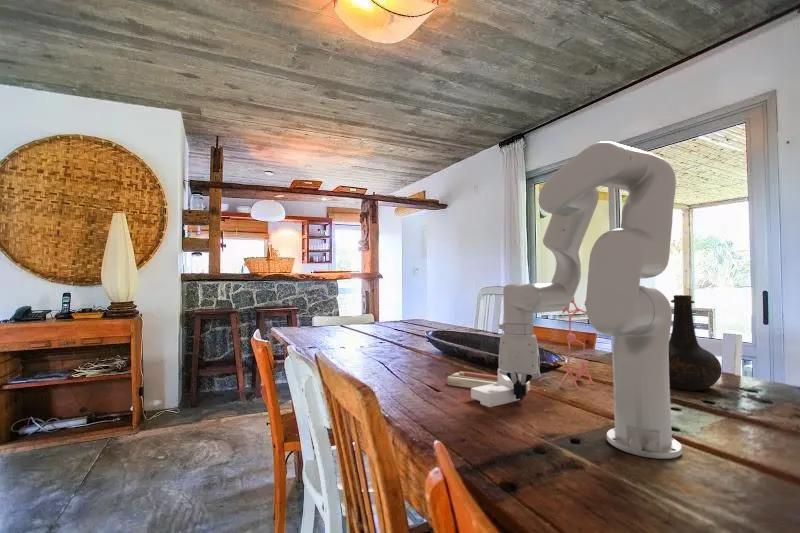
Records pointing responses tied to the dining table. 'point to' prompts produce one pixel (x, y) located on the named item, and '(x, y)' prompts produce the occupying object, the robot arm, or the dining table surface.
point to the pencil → (479, 375)
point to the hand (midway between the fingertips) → (520, 398)
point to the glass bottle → (689, 352)
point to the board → (473, 381)
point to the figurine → (570, 338)
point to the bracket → (496, 392)
